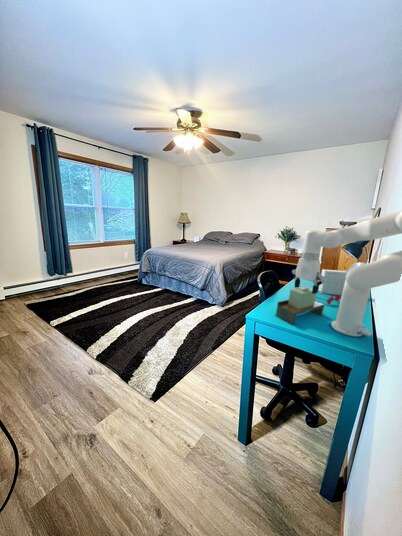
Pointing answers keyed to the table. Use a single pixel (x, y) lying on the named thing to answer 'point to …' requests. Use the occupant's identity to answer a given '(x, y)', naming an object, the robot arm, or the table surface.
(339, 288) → the skincare box
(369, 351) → the table surface
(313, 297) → the tissue box
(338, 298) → the glasses
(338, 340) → the table surface
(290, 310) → the stand
